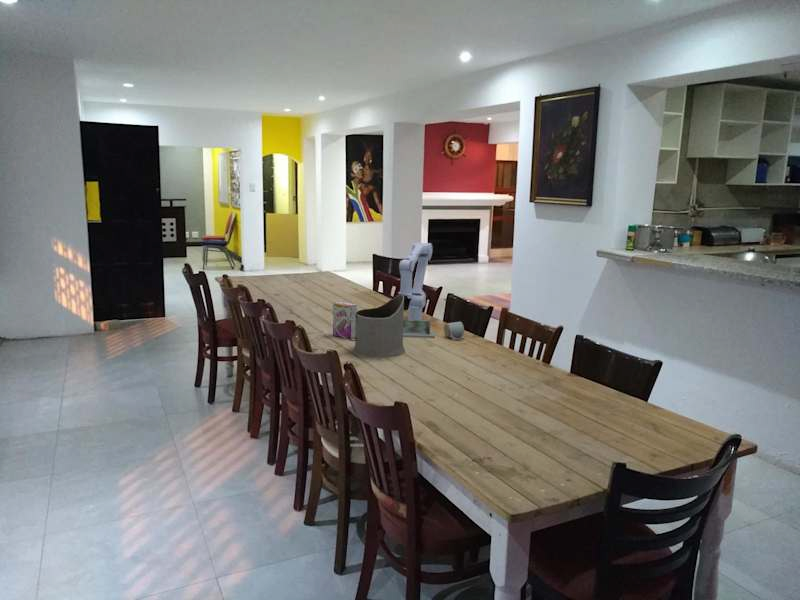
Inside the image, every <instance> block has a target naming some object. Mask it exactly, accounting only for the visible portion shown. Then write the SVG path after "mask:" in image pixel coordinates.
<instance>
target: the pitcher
mask: <svg viewBox="0 0 800 600" xmlns="http://www.w3.org/2000/svg"><path fill="white" fill-rule="evenodd" d="M341 309H347V310H350V309H348V308H340V309H338V310H337V311H336V313H335V317H334V322H335V328H336V330H337V327H336V314H337V312H338V311H339V310H341ZM350 311H352V310H350ZM404 311H405V310H404V296H403V295H402V294H397V295H395V296H394V297H393V298H391V299H390V300H389V301H387V302H386V303H384V304H381V305H380V306H378V307H372V308H371V307H370V308H364V309H363V308H362V309H359V310H357V312H356V314H355V313H354V312H353V311H352V312H353V313H354V315H355V318H356V323H355V338H354V339H348V338H346V337H344V336H343V335H341V334H340V333H339V331H338V330H337V332H338V333H339V334H340V335H341V336H342V337H341V338H343V337H344V339H345V340H347V341H349V342H355V344H354V347H353V350H352V353H353V354H355V356H356V355H357V356H359V357H363V358H368V359H391V358H397V357H400V356H403V355H404V354H405V353H406V350H405V349H406V348H405V347H404V337H403V320H404V317H405V316H404V315H405V313H404Z"/></svg>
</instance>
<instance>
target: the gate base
mask: <svg viewBox="0 0 800 600" xmlns="http://www.w3.org/2000/svg"><path fill="white" fill-rule="evenodd" d="M418 337H426V338H427V337H429V338H427V339H430V338H431V339H435V332H434V331H431V321H430V322H427V332H403V338H418ZM426 338H425V339H426Z"/></svg>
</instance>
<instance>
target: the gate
mask: <svg viewBox="0 0 800 600" xmlns="http://www.w3.org/2000/svg"><path fill="white" fill-rule="evenodd" d="M427 322H430V323H431V319H429V320H427V319H426V320H425V319H422V320H408V319H403V332H427Z"/></svg>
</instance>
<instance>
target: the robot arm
mask: <svg viewBox="0 0 800 600" xmlns="http://www.w3.org/2000/svg"><path fill="white" fill-rule="evenodd" d="M433 251H434V250H433V244H432V243H431V242H417V241H415V242H413V243H412V251H411V252H408V254H407V255H406V257H405V258H404V259H402V260H400V262H399V266H398V269H399V275H400V289H399V291H398V292H397V295H403V296H404V311H408V315H407V316H408V317H407V318H408V319H407V320H423V308H424V307H425V305H426V303H427V302H426V299H427V295H426V292H425V291H423V287H424V286H423V285H424V280H425V277H426V276H425V275H426V272H427V271H426V270H427V266H428V263H429V261H431V258H432V255H433ZM416 263H417V266H416ZM415 266H416V272H415V277H414V280H413V272H414V269H415ZM413 281H414V282H413Z"/></svg>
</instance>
